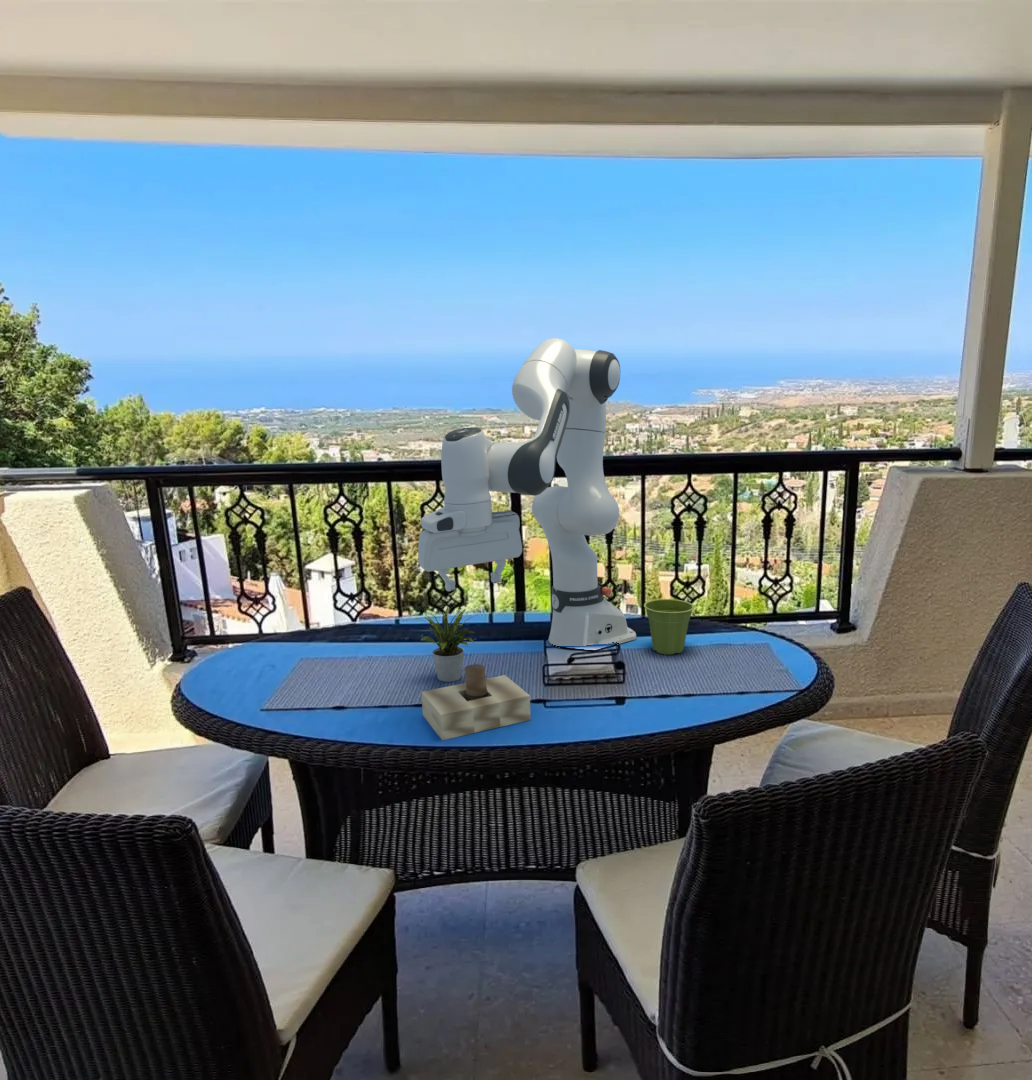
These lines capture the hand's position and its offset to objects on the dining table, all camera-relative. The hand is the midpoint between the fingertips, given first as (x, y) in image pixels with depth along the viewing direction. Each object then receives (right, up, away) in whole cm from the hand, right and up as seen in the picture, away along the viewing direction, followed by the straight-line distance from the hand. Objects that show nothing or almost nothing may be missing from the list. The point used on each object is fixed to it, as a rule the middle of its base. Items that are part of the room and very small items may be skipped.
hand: (473, 586), depth 140 cm
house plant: (-8, -22, +23) cm, 33 cm away
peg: (+1, -26, +3) cm, 26 cm away
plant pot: (+45, -18, +36) cm, 60 cm away
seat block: (0, -26, +2) cm, 26 cm away
